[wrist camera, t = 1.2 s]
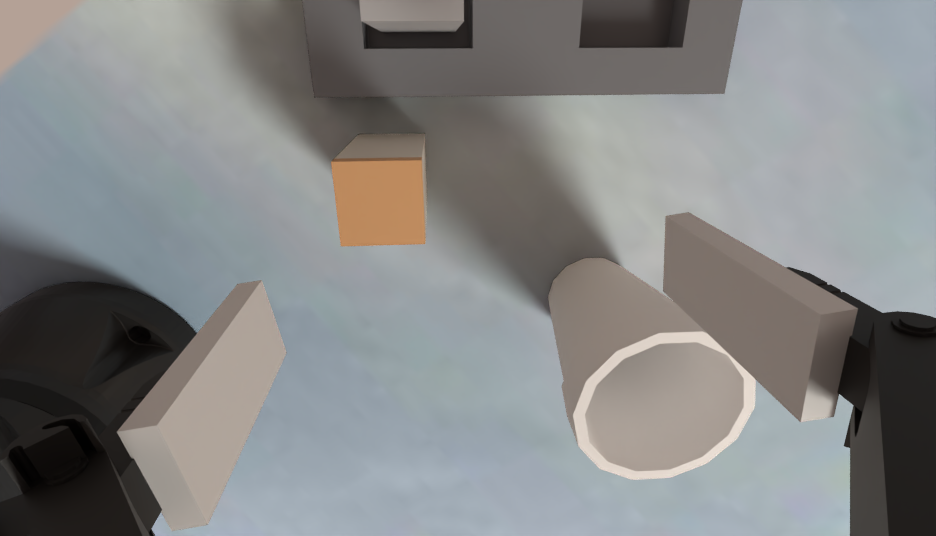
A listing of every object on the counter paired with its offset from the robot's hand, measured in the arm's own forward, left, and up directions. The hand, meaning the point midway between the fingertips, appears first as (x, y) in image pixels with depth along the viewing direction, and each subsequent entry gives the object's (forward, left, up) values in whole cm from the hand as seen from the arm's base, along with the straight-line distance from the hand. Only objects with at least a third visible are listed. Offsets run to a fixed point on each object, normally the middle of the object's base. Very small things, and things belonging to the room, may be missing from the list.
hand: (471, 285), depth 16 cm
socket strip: (+4, +10, -18) cm, 21 cm away
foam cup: (+10, -10, -18) cm, 23 cm away
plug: (-4, 0, -18) cm, 18 cm away
